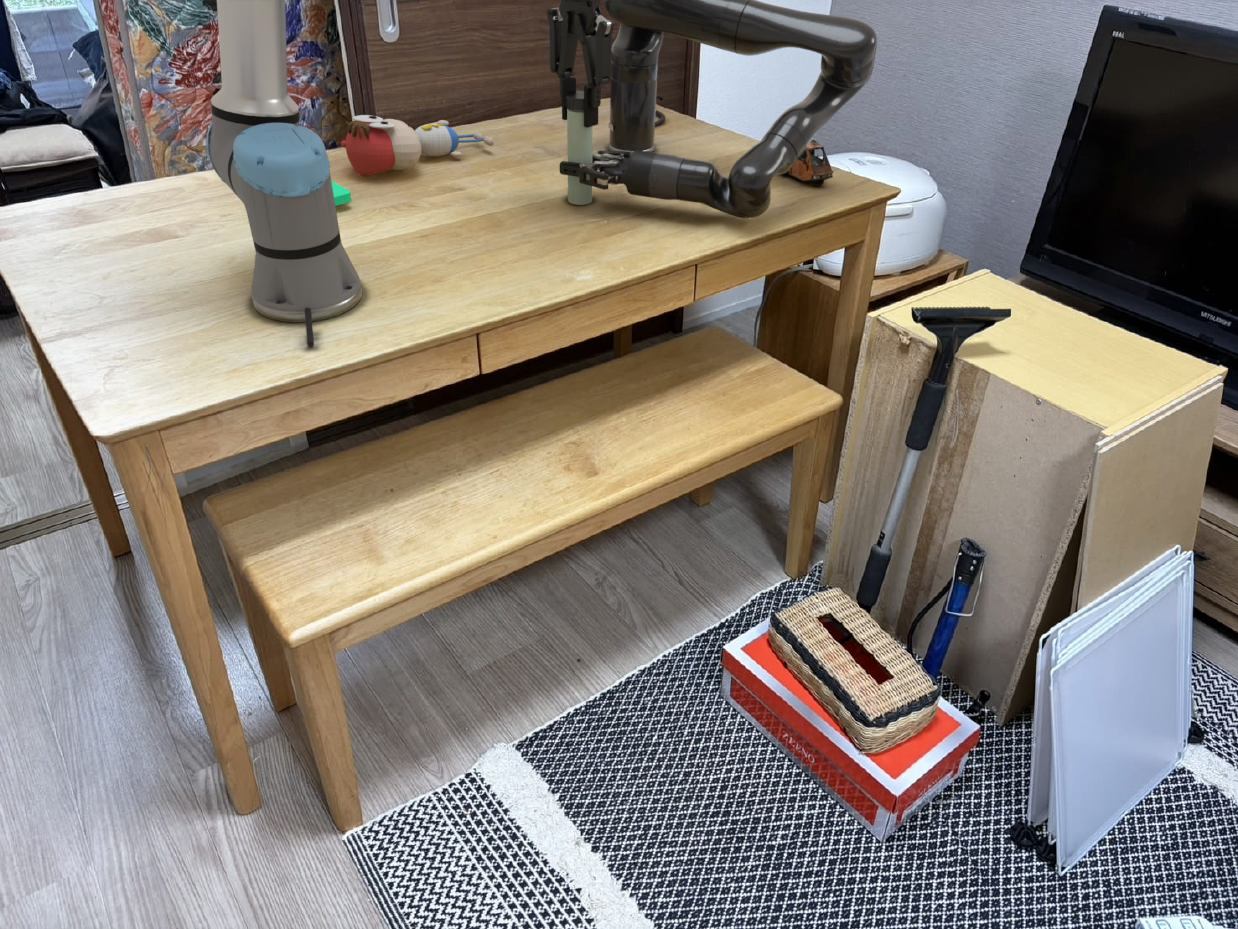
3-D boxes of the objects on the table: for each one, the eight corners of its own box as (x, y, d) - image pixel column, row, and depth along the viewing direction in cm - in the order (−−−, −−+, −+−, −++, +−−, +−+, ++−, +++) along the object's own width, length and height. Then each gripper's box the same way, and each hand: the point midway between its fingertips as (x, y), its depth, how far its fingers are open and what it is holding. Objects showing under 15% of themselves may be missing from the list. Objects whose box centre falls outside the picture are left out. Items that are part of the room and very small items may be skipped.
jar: (584, 194, 171) (584, 93, 160) (596, 202, 168) (597, 99, 157) (563, 198, 169) (562, 96, 158) (575, 206, 166) (575, 103, 155)
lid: (564, 102, 160) (563, 90, 159) (592, 102, 161) (592, 90, 159) (567, 111, 156) (567, 99, 155) (596, 110, 157) (596, 98, 156)
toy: (509, 121, 178) (356, 125, 163) (508, 175, 183) (360, 183, 168) (469, 106, 192) (324, 108, 177) (469, 157, 197) (328, 162, 181)
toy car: (791, 165, 186) (796, 130, 181) (837, 182, 178) (843, 146, 174) (769, 171, 182) (773, 136, 178) (815, 189, 175) (821, 153, 171)
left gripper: (524, -35, 148) (529, 114, 162) (603, -19, 139) (601, 138, 153) (558, -40, 153) (560, 106, 167) (637, -24, 143) (632, 129, 157)
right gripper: (644, 211, 158) (550, 196, 162) (667, 183, 169) (579, 170, 173) (645, 167, 153) (550, 153, 157) (669, 141, 164) (579, 129, 168)
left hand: (580, 121), depth 160 cm, fingers closed on lid, 5 cm apart
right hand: (565, 162), depth 165 cm, fingers closed on jar, 4 cm apart
